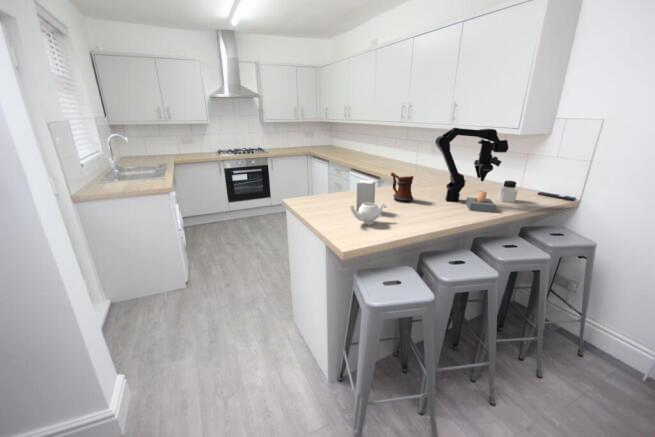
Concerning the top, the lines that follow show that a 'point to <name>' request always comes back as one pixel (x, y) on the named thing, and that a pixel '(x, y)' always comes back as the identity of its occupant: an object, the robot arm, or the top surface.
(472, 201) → the socket block
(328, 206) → the top surface
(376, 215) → the teapot
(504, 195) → the medicine bottle
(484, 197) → the peg
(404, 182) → the mug
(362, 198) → the skincare box
